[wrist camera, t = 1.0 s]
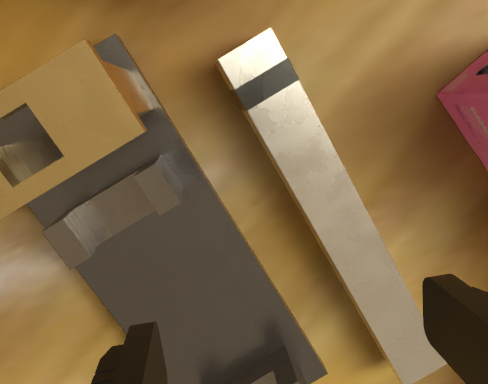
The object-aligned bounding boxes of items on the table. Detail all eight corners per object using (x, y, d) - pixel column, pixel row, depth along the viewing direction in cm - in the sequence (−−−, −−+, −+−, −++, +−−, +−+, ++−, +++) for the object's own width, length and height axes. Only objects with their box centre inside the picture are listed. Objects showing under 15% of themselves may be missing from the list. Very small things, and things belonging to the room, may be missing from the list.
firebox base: (119, 36, 30) (74, 3, 19) (322, 362, 37) (372, 468, 27) (-23, 123, 30) (-146, 138, 19) (209, 428, 38) (213, 559, 27)
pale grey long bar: (262, 35, 31) (271, 26, 27) (422, 336, 38) (448, 364, 34) (214, 64, 31) (217, 59, 27) (383, 358, 38) (405, 389, 34)
